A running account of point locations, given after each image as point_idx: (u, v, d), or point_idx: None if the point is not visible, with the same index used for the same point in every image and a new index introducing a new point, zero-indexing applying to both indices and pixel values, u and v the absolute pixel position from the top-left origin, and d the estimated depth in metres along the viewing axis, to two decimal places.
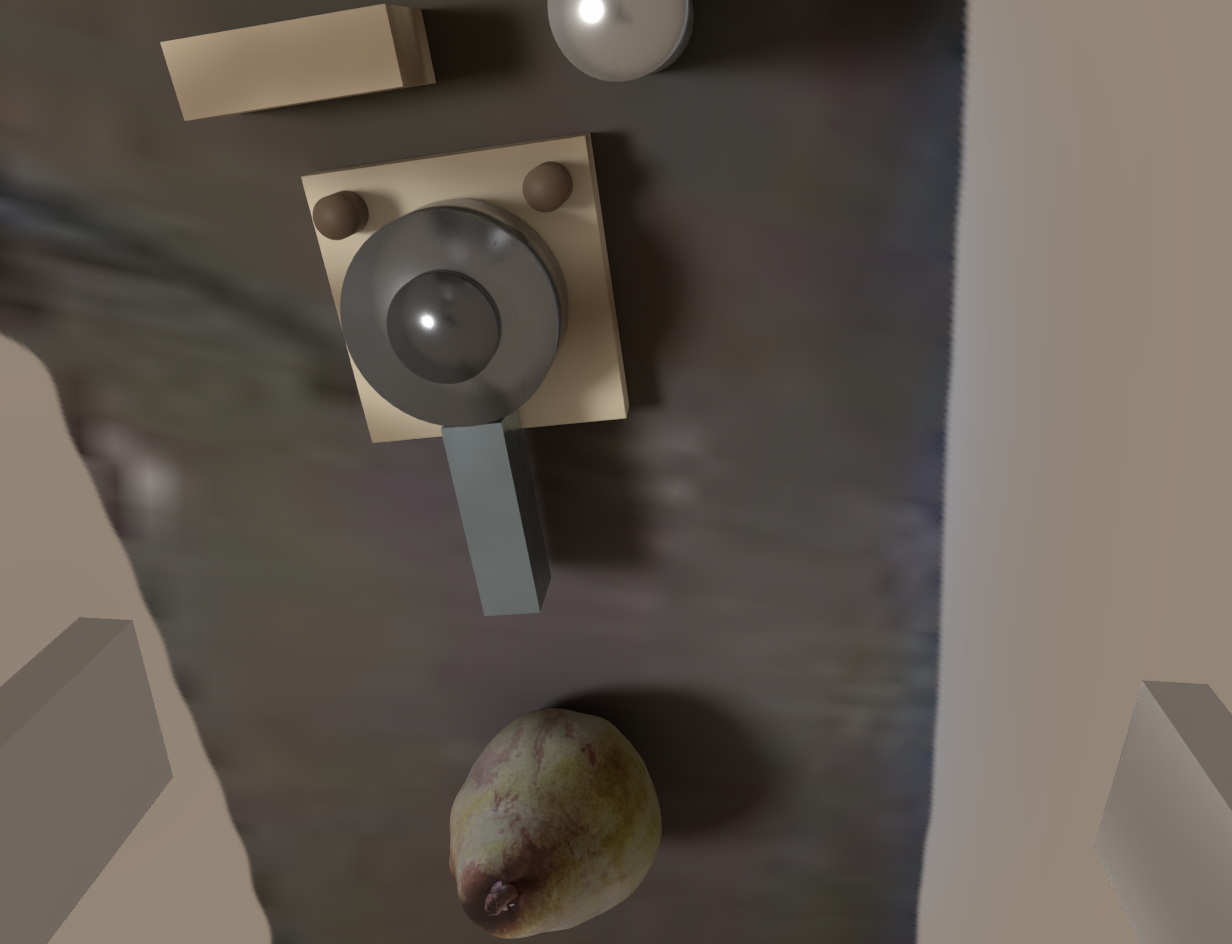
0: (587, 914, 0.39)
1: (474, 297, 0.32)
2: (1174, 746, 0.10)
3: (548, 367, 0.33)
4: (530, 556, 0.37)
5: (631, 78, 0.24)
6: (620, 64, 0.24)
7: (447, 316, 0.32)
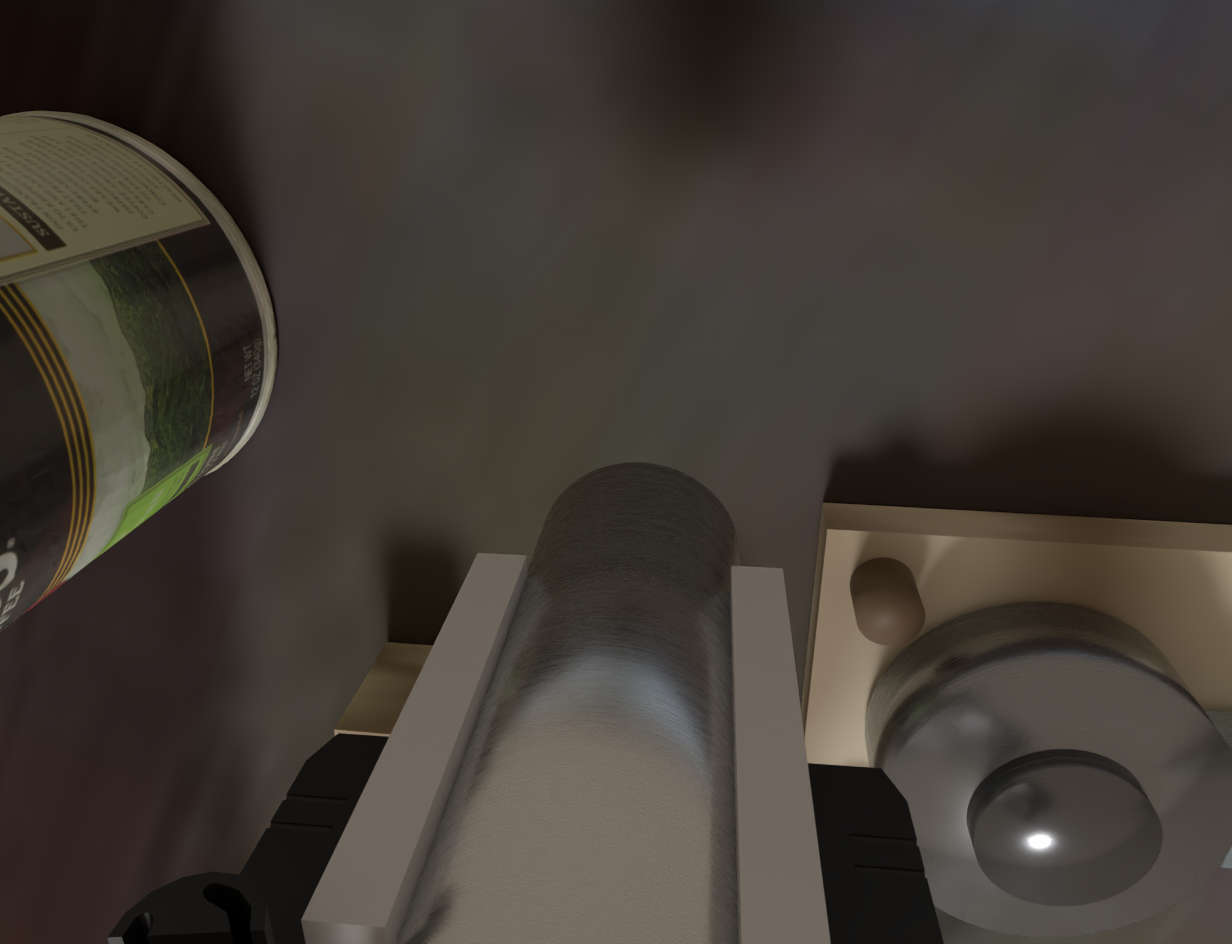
0: None
1: (1031, 790, 0.20)
2: (731, 610, 0.13)
3: (1184, 706, 0.20)
4: None
5: None
6: None
7: (1047, 830, 0.21)
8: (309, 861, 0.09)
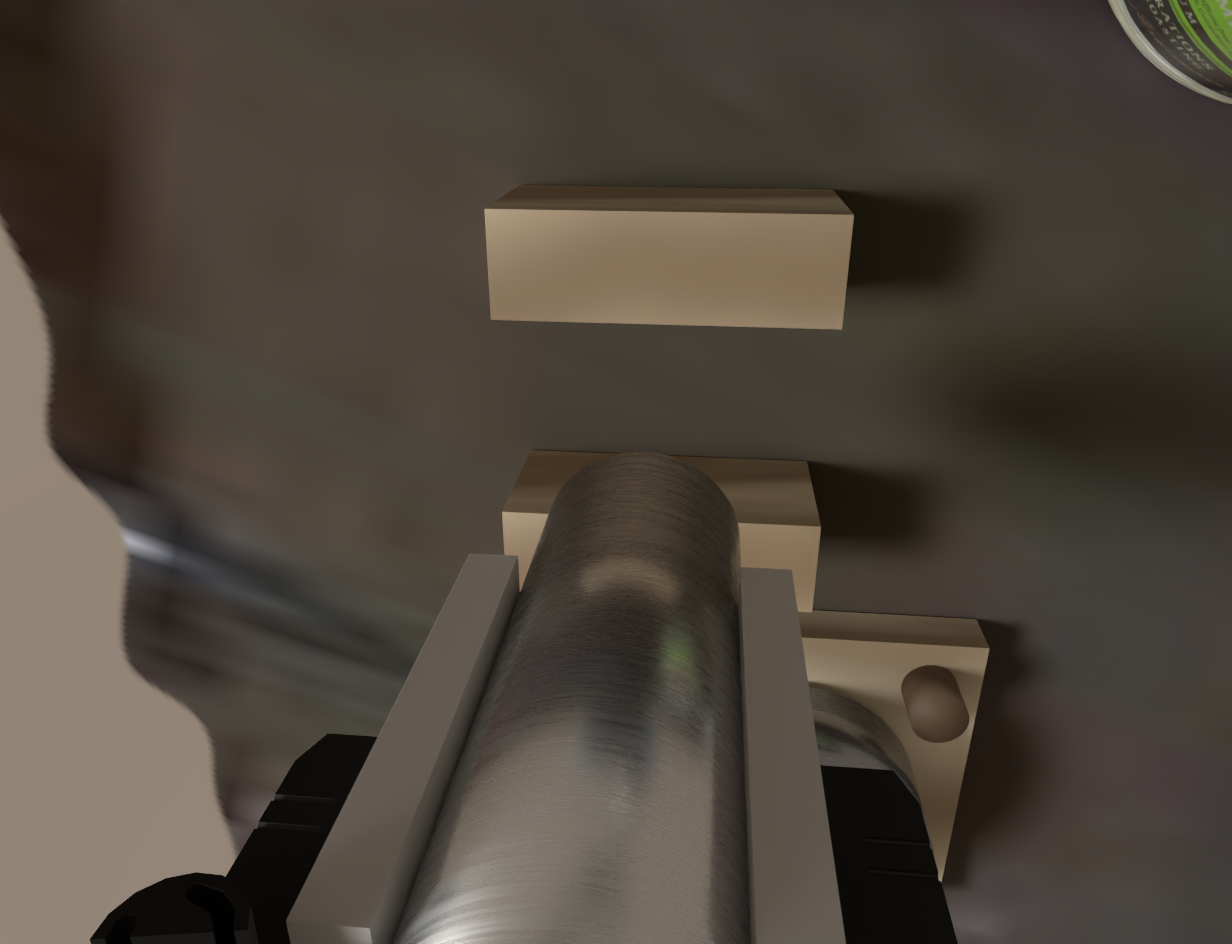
0: None
1: None
2: (741, 612, 0.13)
3: None
4: None
5: None
6: None
7: None
8: (296, 862, 0.09)
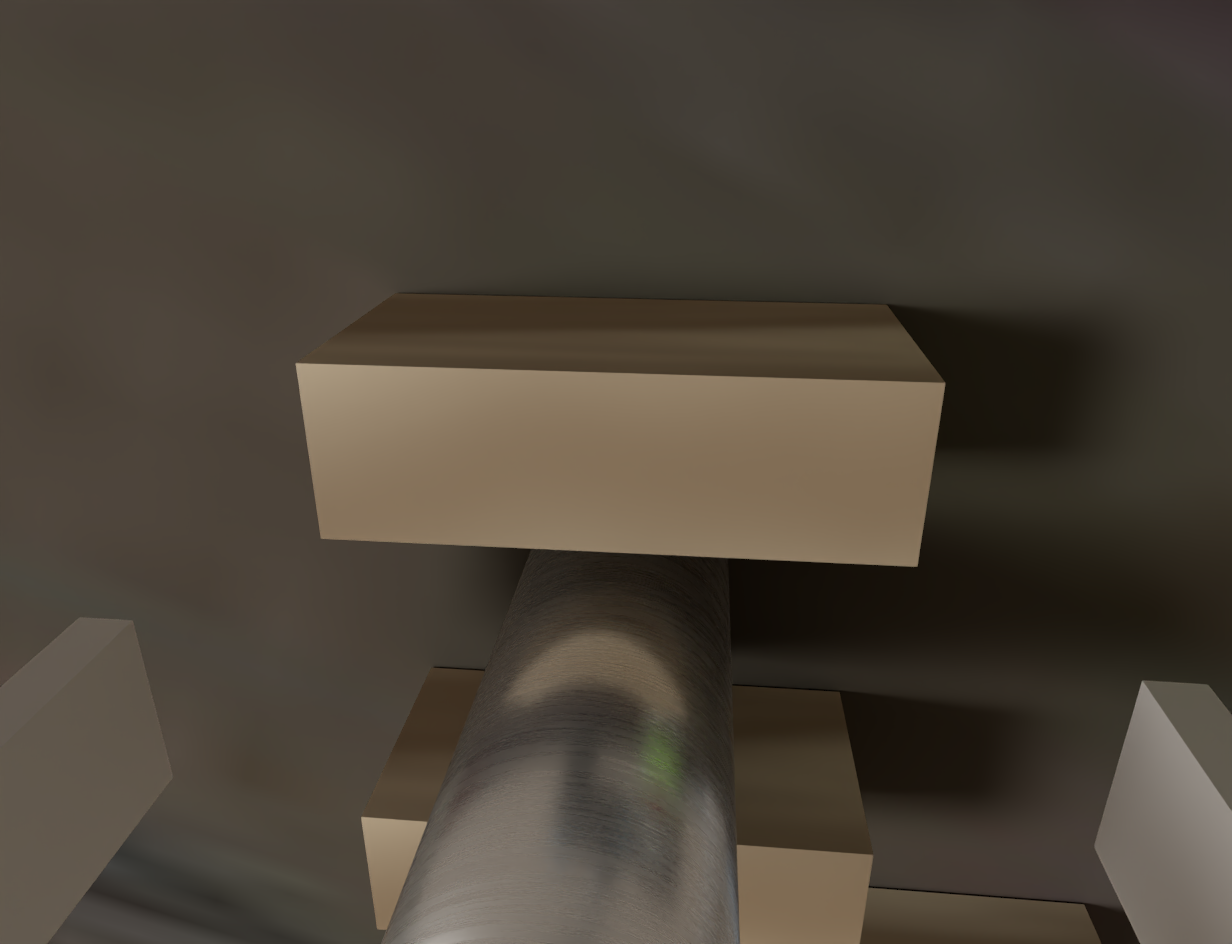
0: None
1: None
2: (1174, 745, 0.10)
3: None
4: None
5: None
6: None
7: None
8: None
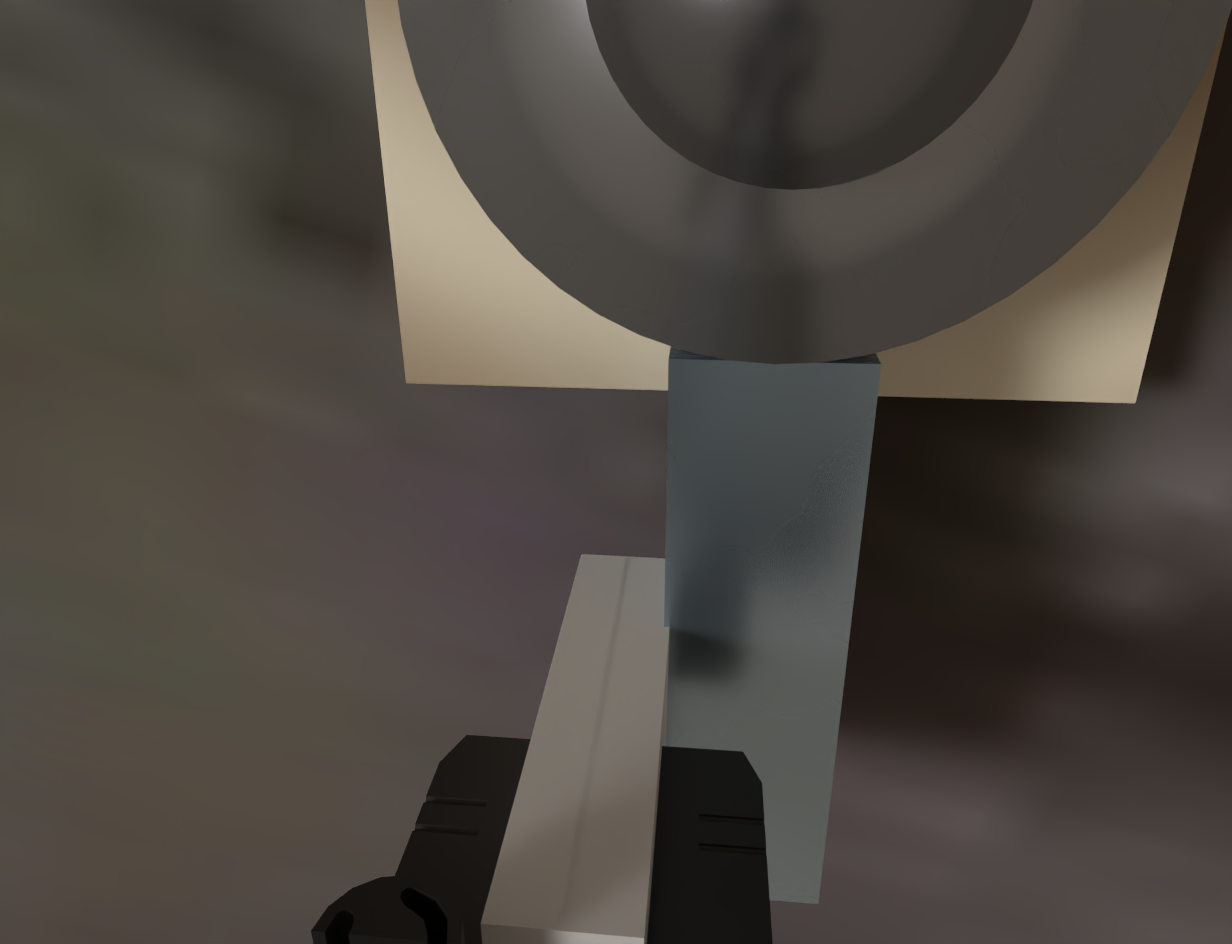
0: None
1: None
2: (618, 600, 0.13)
3: (1129, 182, 0.09)
4: None
5: None
6: None
7: None
8: (461, 863, 0.09)
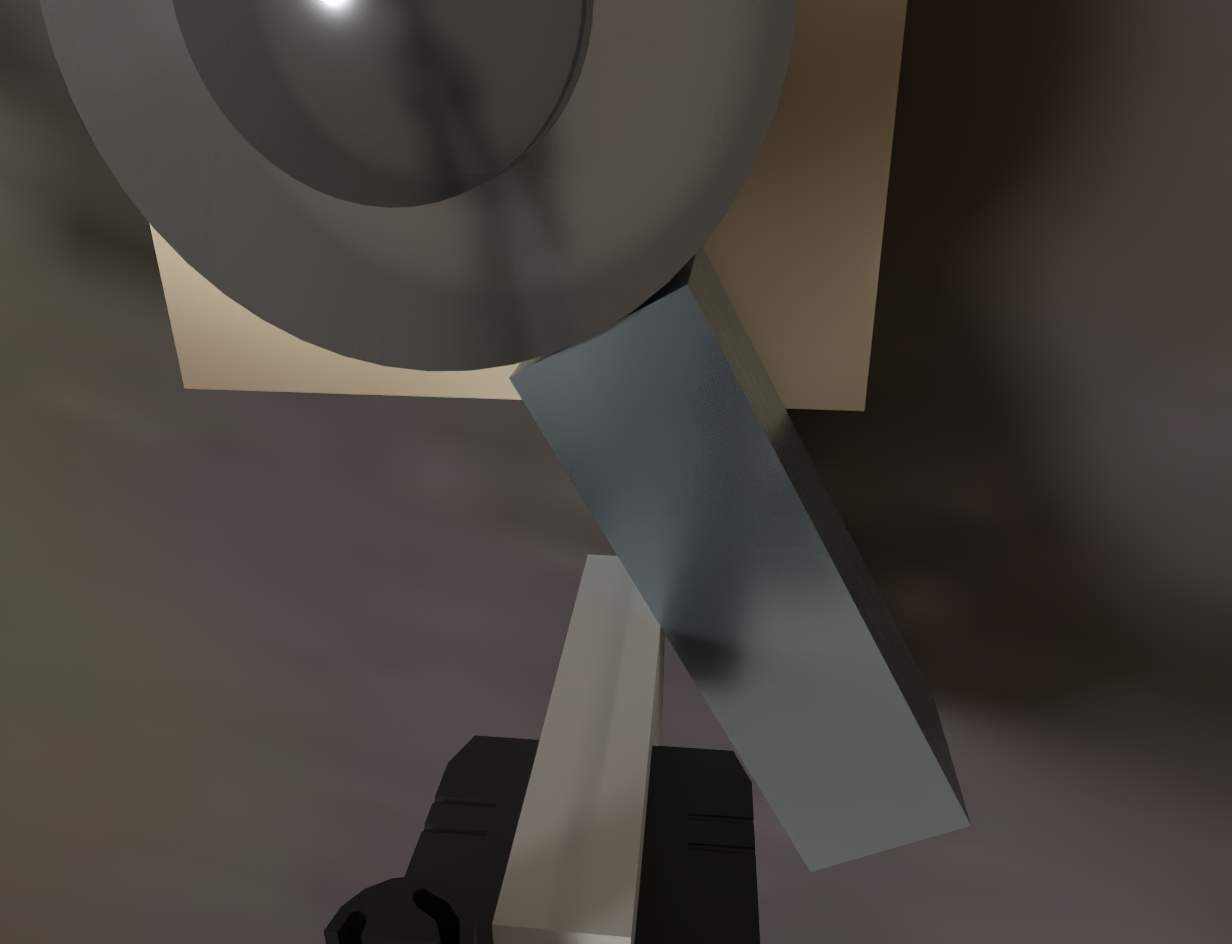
0: None
1: None
2: (610, 600, 0.13)
3: None
4: (896, 676, 0.12)
5: None
6: None
7: None
8: (471, 865, 0.09)
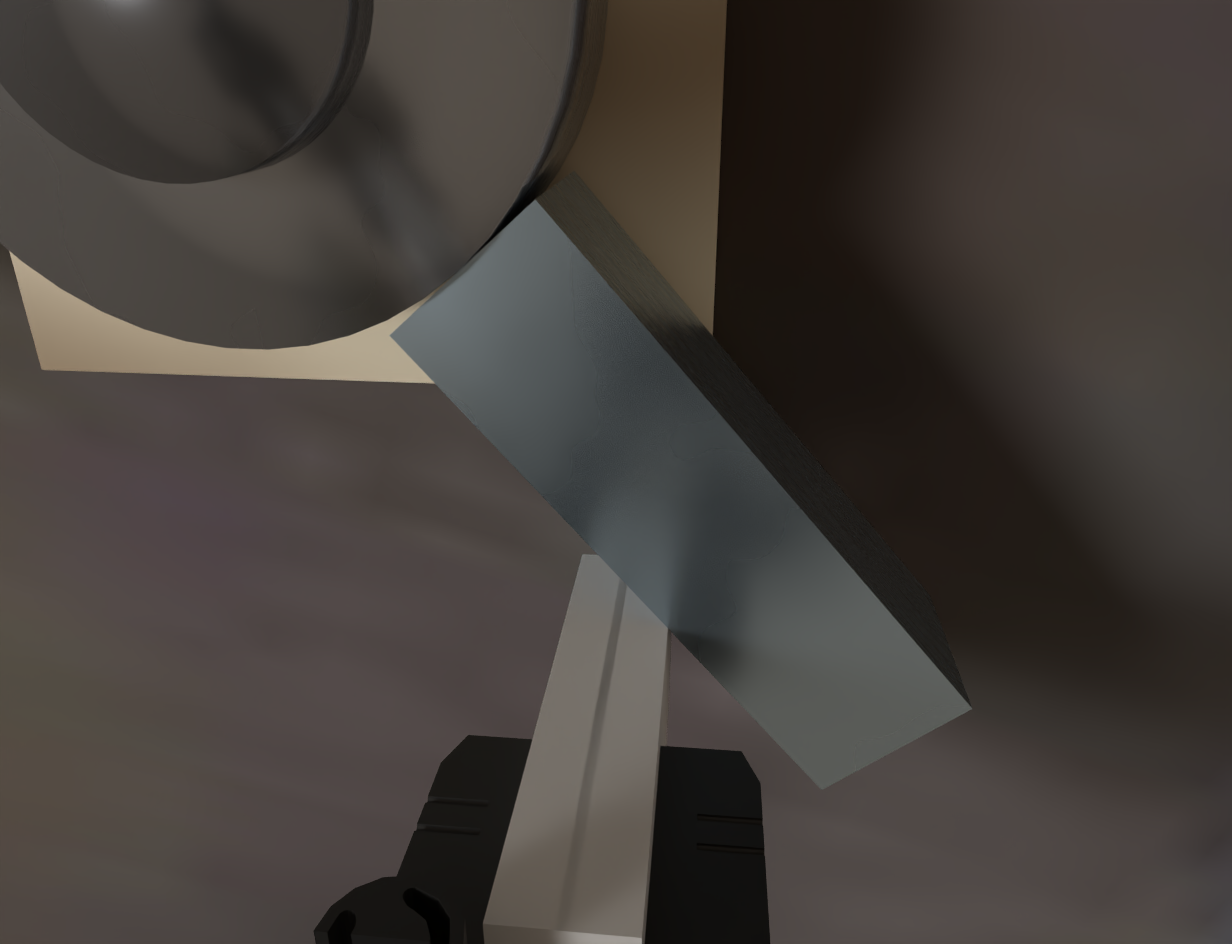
0: None
1: None
2: (617, 600, 0.13)
3: None
4: (856, 566, 0.12)
5: None
6: None
7: None
8: (463, 864, 0.09)
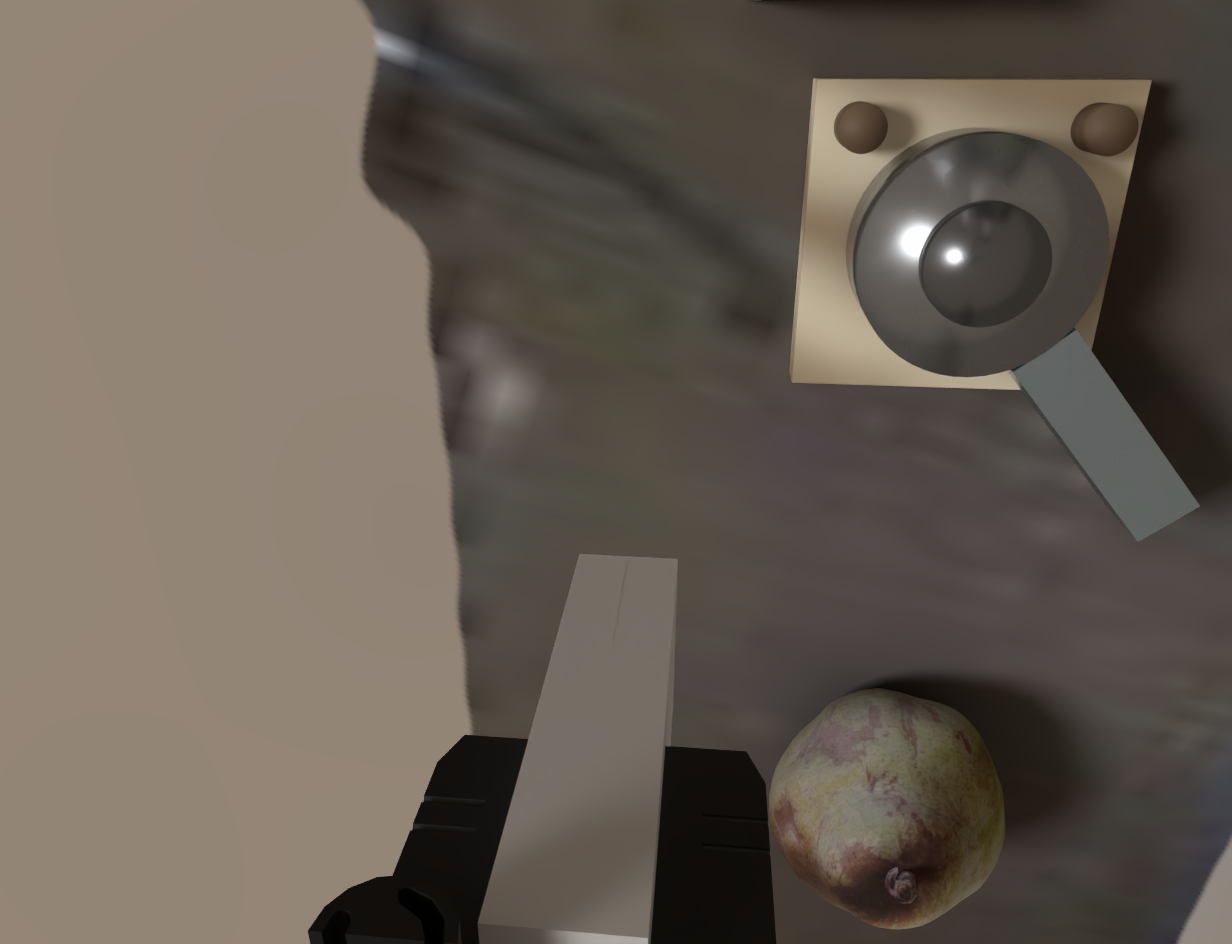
0: (947, 910, 0.37)
1: (1009, 213, 0.29)
2: (621, 600, 0.13)
3: (1107, 242, 0.30)
4: None
5: None
6: None
7: (987, 249, 0.29)
8: (459, 864, 0.09)
